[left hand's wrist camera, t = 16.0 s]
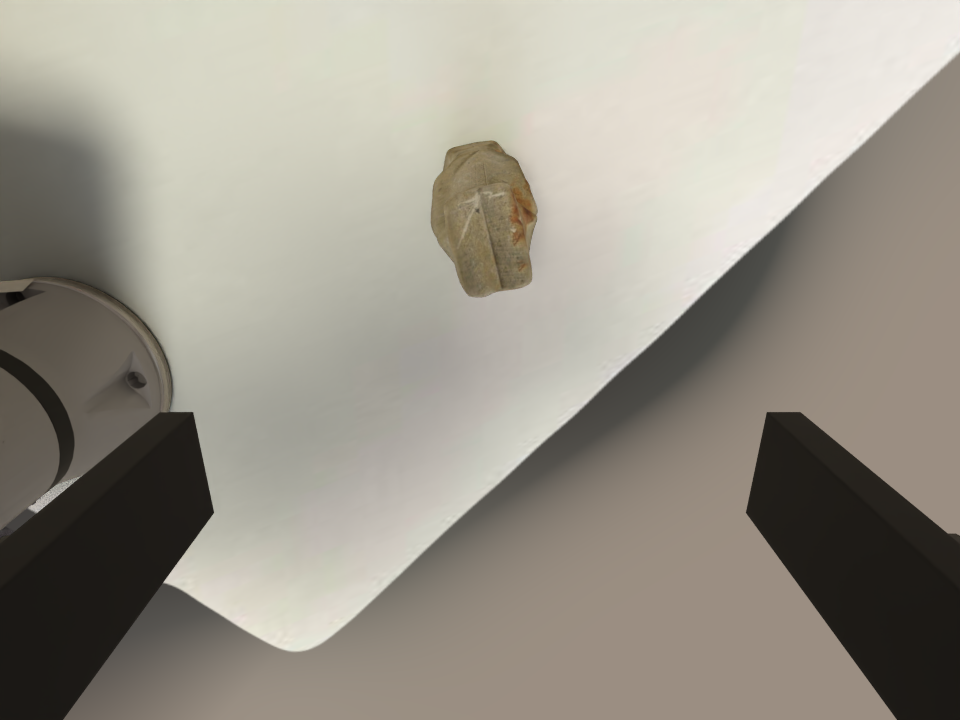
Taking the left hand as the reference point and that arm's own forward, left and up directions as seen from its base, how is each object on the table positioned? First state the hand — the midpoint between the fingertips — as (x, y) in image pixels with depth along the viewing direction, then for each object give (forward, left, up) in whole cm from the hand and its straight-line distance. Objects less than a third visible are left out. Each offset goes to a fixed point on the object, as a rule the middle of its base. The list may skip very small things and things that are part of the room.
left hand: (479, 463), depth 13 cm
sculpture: (+3, +2, -29) cm, 29 cm away
